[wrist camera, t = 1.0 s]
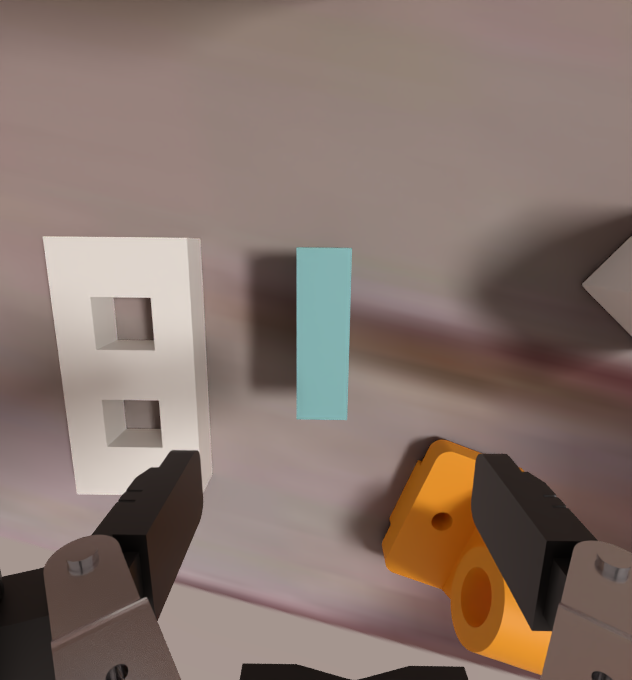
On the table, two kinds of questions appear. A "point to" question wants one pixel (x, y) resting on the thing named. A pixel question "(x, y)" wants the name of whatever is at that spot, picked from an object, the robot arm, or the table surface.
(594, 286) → the milk carton
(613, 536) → the table surface
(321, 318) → the teal block
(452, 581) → the bracket
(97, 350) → the white slotted board
